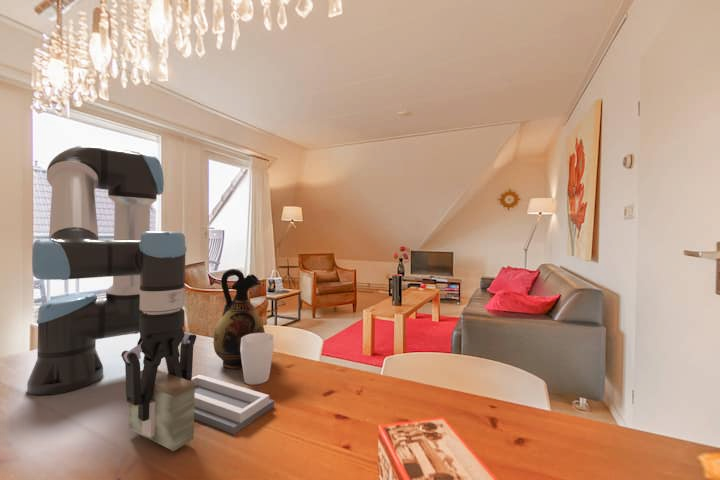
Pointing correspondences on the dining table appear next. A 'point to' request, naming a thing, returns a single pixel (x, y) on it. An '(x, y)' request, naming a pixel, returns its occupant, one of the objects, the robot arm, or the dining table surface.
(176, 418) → the beige textured block
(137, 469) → the dining table surface
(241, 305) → the ceramic jug
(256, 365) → the cup
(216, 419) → the track base
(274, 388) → the dining table surface
